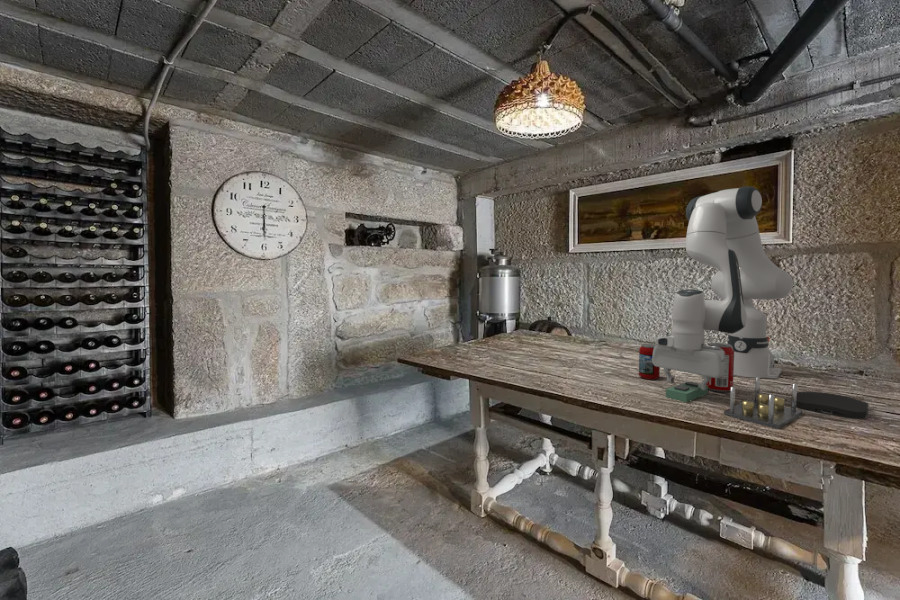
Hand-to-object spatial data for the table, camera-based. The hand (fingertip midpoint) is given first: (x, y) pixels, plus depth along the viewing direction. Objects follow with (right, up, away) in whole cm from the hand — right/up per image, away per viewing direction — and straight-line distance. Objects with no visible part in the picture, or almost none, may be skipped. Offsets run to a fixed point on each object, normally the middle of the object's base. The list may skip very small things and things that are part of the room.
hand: (685, 385), depth 124 cm
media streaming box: (+33, -4, -12) cm, 36 cm away
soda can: (+14, -3, +6) cm, 15 cm away
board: (+1, -4, 0) cm, 4 cm away
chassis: (+11, -4, -17) cm, 21 cm away
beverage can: (-1, -2, +21) cm, 21 cm away
